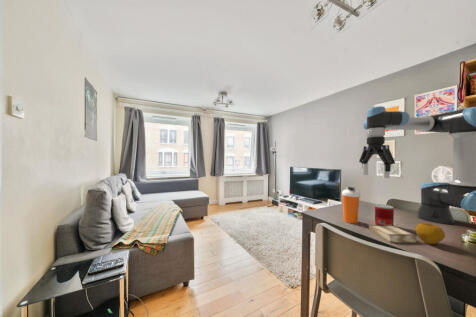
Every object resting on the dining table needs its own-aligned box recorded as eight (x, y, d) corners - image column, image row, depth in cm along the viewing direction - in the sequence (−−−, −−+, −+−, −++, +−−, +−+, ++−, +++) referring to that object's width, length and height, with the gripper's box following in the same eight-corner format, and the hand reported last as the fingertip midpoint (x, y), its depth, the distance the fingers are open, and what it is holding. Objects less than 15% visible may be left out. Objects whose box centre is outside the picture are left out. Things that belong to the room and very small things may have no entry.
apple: (439, 250, 71) (439, 228, 71) (410, 240, 80) (411, 221, 79) (448, 246, 75) (449, 225, 75) (420, 237, 83) (420, 218, 83)
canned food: (396, 228, 93) (397, 208, 92) (379, 227, 94) (380, 207, 94) (387, 223, 100) (387, 204, 100) (372, 222, 102) (372, 203, 102)
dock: (391, 230, 90) (391, 224, 90) (415, 242, 78) (416, 234, 78) (369, 230, 90) (369, 224, 90) (390, 242, 78) (390, 235, 78)
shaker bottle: (343, 222, 100) (343, 188, 100) (340, 217, 109) (340, 186, 108) (361, 225, 97) (362, 189, 97) (357, 219, 105) (357, 187, 105)
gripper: (352, 139, 104) (352, 174, 105) (389, 133, 79) (388, 179, 80) (364, 139, 105) (364, 174, 105) (405, 133, 80) (404, 179, 80)
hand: (374, 176), depth 92 cm, fingers open, 13 cm apart
